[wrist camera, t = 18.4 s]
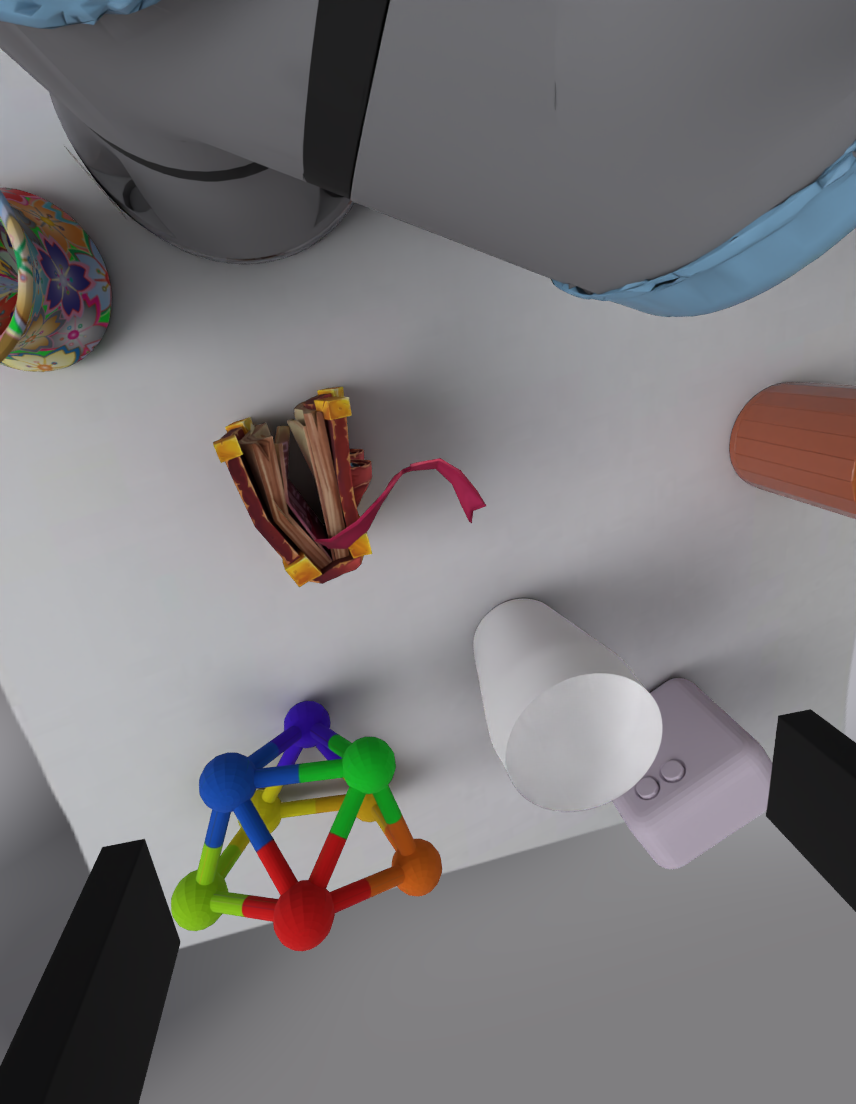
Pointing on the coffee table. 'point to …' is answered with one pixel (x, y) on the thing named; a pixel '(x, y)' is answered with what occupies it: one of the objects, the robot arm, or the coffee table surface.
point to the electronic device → (695, 779)
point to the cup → (562, 708)
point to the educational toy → (369, 798)
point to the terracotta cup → (800, 444)
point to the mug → (48, 286)
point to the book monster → (337, 481)
